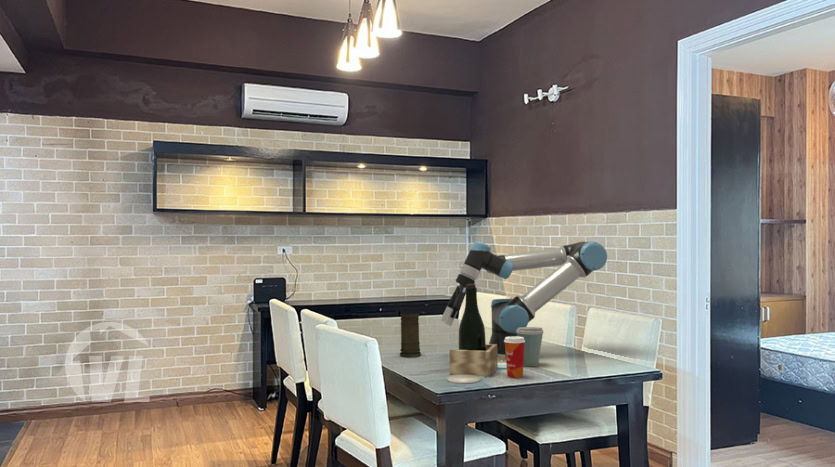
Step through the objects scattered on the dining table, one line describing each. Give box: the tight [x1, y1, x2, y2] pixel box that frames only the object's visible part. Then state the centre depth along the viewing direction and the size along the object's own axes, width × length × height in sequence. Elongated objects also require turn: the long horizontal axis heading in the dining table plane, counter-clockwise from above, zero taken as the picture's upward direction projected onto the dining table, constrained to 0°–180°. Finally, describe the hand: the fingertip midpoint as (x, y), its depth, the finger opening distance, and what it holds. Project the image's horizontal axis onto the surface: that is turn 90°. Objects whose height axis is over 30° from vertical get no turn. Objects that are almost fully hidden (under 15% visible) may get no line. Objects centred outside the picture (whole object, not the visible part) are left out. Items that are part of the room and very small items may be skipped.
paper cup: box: [504, 336, 525, 379], centre depth 232 cm, size 8×8×14 cm
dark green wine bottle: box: [458, 283, 487, 351], centre depth 243 cm, size 10×10×33 cm
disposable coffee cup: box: [516, 326, 544, 367], centre depth 252 cm, size 11×11×15 cm
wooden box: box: [449, 343, 499, 377], centre depth 242 cm, size 15×16×9 cm
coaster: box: [446, 374, 482, 385], centre depth 228 cm, size 12×12×1 cm
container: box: [399, 312, 422, 358], centre depth 275 cm, size 9×9×18 cm
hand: (445, 323), depth 265 cm, fingers open, 13 cm apart
